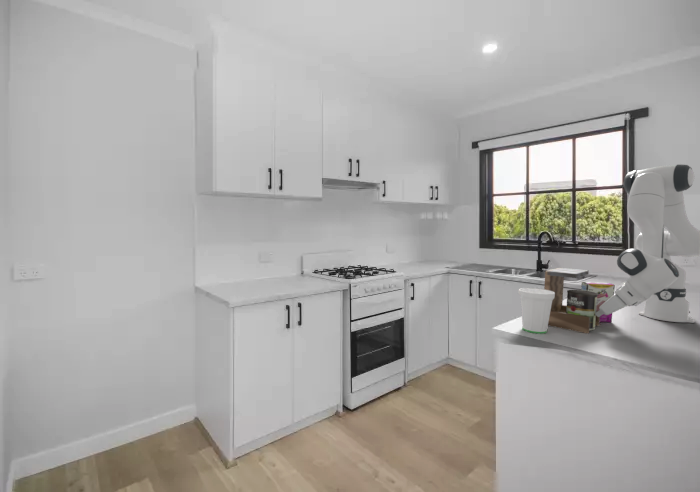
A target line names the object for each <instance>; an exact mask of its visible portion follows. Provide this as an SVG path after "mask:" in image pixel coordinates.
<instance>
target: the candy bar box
mask: <svg viewBox="0 0 700 492" xmlns="http://www.w3.org/2000/svg"><path fill="white" fill-rule="evenodd" d="M580 286H581V288H580V290H584V291H591V292H595V293H597V294H598V296H597V307H596V310H598V311H599V310H600V309H599V307H600V306H601V305H602V304H603V303H604V302H606V301H607V300H608V299H609V298H610V297H612V296H613V295H614V294H615V289H616V287H615V284H613V283H609V282H599V281H598V282H597V281H596V282H595V281H581V285H580ZM612 319H613V313H611V314H609V315H605V314H603V315H601V316H600V321H599V323H613V321H612Z"/></svg>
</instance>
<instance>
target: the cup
mask: <svg viewBox="0 0 700 492" xmlns="http://www.w3.org/2000/svg"><path fill="white" fill-rule="evenodd" d="M518 295H519V297H520V307H521V320H522V321H521V322H522V330H523V331H524V332H528V333H532V334H546V333H547V331H548V327H549V326H548V321H549V316H550V311H551V305H552V300H553V299H554V298H555V292H553V291H550V290H544V289H543V288H534V287H521V288H519V289H518Z"/></svg>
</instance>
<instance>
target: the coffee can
mask: <svg viewBox="0 0 700 492" xmlns="http://www.w3.org/2000/svg"><path fill="white" fill-rule="evenodd" d="M566 293H567V294H566V295H567V296H566V306H567V309H566V313H569V314H575V315H581V316H586V317H590V325H589V331H595V330H596V325H595V321H596V315H595V313H596V307H597V296H598V294H597V293H595V292H591V291H584V290H581V289H568V290H566Z"/></svg>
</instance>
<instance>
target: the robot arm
mask: <svg viewBox="0 0 700 492" xmlns="http://www.w3.org/2000/svg"><path fill="white" fill-rule="evenodd" d="M694 181H695V172H694V171H693V168H692V167H691V166H689V165H688V164H675V165H661V166H660V165H659V166H654V167H649V168H648V167H647V168H644V169H635V170H632V171H629V172H628V173H627V174H626V175H625V177H624V179H623V188H624V191H625V192H626V193H627V194H628V199H627V202H626V203H627V205H626V209H627V215H628V218H629V219H630V220H631V221H632V223H634V225H635V226H636V227H637V229H638V230H639V232H640V233H639V234H638V235H637V236H636V238H635V241H634V242H635V247H636V248H628V249H626V250H624V251H622V252H621V253H620V254H619V255H618V257H617V260H616V264H617V267H618V268H619V269H620V270H621V271H622V272H624V273H625V274H627V275H628V276H629V278H627V279H626V280H625V281H623V282H621V283H620V284H619V285H618V286H616V287H615V289H616V290H614V295H613V296H612V297H610V298H609V299H608V300H607V301H606V302H604V303H603V304H602V305H601V306H600V307H599V309H600V310H599V311H598V312H596V313H595V315H596V316H597V317H600V316H601V315H603V314H605V315H609V314H611V313H612V314H614V313H615V312H617V311H619V310H622V309H623V308H625V307H637V306H639V305H641V304H642V303H644V305H643V306H644V307H643V310H642V311H639V312H638V314H639V316H640V315H641V316H644V317H647V318H650V319H654V320H660V321H664V322H665V321H666V322H675V323H694V324H695V322H696V321H695V319H694V318H693V317H692V315H690V314H691V311H690V302H689V301H688V299H686V295H687V289H686V275H687V272H686V270H685V269H684V268H683V267H682V266H680V265H679V264H676V263H674V262H673V260H672V259H671V257H685V258H695V257H697V258H698V257H700V230H699V229H698V228H696V227H695V226H694V225H693V223H691V221H690V220H689V218H688V216H687V213H686V205H685V197H684V193H683V192H684V191H687V190H689V189H690V188H691V187H692V185H693V183H694Z"/></svg>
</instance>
